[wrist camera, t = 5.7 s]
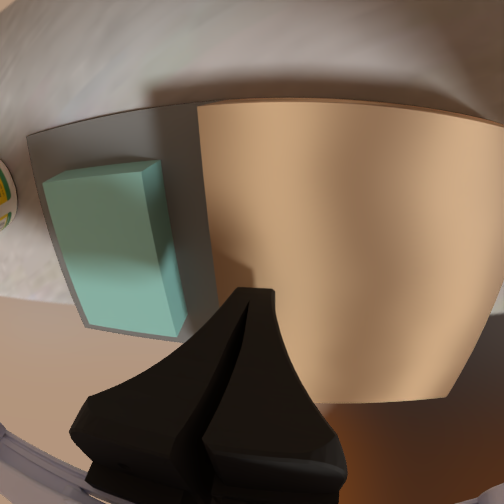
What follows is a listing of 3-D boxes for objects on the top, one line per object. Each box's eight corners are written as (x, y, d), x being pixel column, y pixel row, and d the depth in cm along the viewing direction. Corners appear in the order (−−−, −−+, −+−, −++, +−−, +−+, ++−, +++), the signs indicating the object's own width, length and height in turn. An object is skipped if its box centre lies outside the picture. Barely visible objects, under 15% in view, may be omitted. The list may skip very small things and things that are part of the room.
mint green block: (42, 183, 13) (65, 170, 15) (89, 324, 18) (104, 304, 19) (141, 171, 12) (160, 159, 14) (177, 337, 17) (187, 313, 18)
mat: (226, 99, 12) (224, 100, 12) (245, 345, 19) (244, 349, 19) (29, 135, 14) (26, 136, 14) (86, 324, 21) (84, 327, 21)
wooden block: (487, 119, 11) (537, 137, 7) (431, 348, 18) (446, 396, 14) (226, 99, 12) (196, 106, 9) (245, 345, 19) (233, 397, 16)
